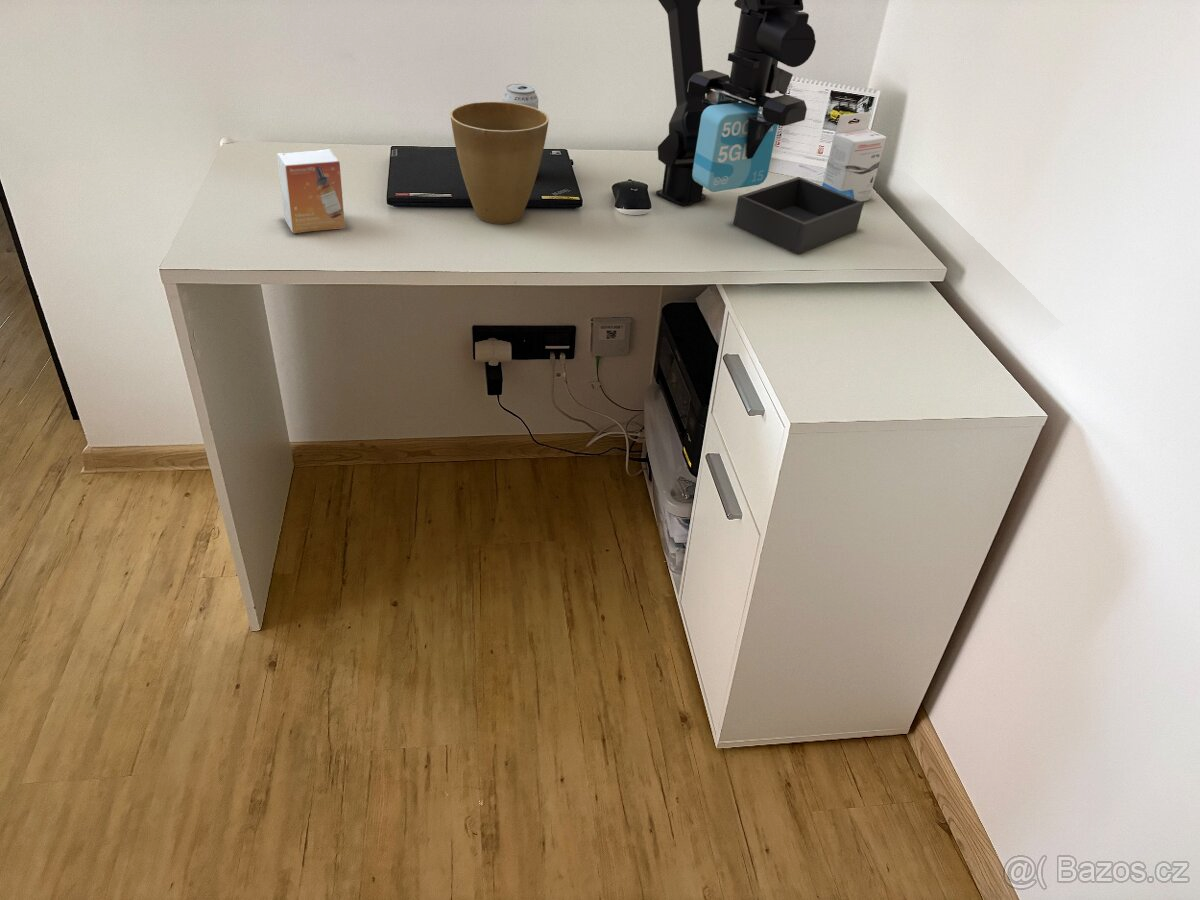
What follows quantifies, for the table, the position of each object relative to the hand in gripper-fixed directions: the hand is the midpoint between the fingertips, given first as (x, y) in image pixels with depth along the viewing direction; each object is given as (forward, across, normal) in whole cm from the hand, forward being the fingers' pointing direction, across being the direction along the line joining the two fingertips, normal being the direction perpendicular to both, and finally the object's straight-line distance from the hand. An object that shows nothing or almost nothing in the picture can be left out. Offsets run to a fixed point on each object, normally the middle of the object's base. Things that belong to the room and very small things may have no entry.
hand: (736, 153), depth 143 cm
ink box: (+13, -4, -30) cm, 33 cm away
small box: (+13, +38, +52) cm, 66 cm away
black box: (+13, -7, -12) cm, 18 cm away
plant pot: (+13, +26, +27) cm, 39 cm away
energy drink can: (+13, +37, +12) cm, 41 cm away
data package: (+5, 0, 0) cm, 5 cm away
